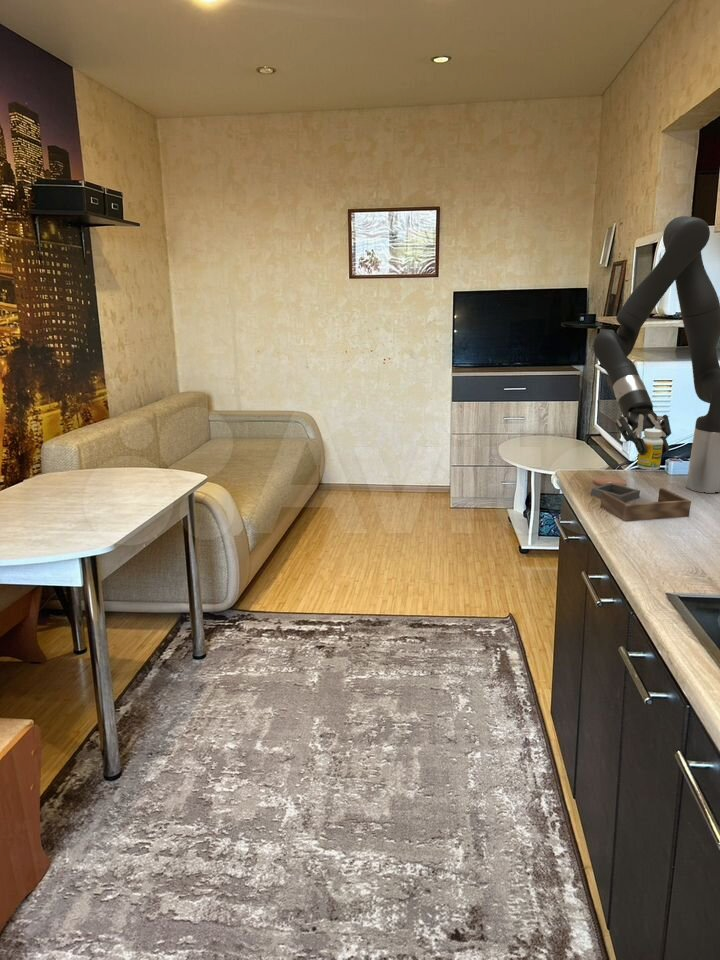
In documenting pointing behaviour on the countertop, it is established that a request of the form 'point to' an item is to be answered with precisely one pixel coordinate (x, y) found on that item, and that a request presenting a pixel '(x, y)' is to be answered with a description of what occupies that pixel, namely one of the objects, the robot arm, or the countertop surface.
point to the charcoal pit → (616, 492)
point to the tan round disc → (609, 480)
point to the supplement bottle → (651, 450)
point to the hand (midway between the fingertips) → (655, 452)
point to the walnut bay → (648, 507)
